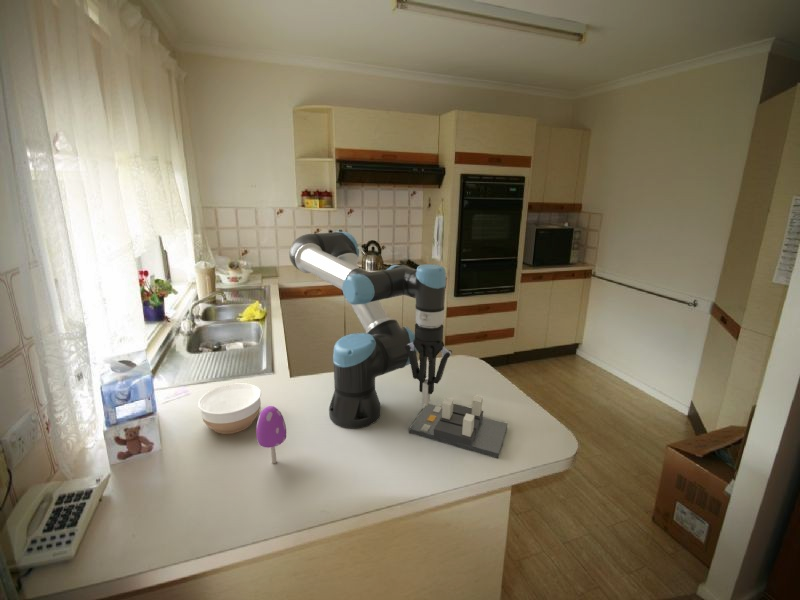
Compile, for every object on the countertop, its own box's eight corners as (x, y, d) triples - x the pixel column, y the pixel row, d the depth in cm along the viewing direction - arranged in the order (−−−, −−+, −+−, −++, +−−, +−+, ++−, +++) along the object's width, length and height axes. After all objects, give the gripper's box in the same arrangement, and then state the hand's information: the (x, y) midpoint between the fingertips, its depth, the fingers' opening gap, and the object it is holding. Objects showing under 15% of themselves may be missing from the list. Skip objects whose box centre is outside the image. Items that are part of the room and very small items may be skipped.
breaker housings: (433, 435, 103) (434, 413, 101) (449, 408, 115) (450, 388, 113) (470, 446, 99) (472, 423, 97) (482, 417, 111) (484, 396, 109)
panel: (409, 433, 106) (409, 427, 105) (426, 407, 118) (427, 402, 118) (498, 458, 97) (498, 452, 96) (507, 428, 109) (507, 422, 108)
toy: (272, 475, 90) (267, 419, 85) (253, 464, 93) (247, 409, 89) (294, 459, 95) (290, 405, 91) (275, 449, 98) (271, 396, 94)
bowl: (238, 401, 120) (235, 377, 117) (275, 416, 112) (273, 392, 110) (189, 427, 106) (184, 402, 104) (227, 447, 99) (223, 420, 96)
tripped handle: (441, 417, 107) (442, 403, 105) (445, 412, 109) (445, 397, 108) (449, 419, 106) (450, 405, 105) (452, 413, 109) (453, 399, 107)
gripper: (400, 324, 102) (399, 403, 108) (448, 332, 97) (444, 415, 103) (411, 315, 108) (409, 391, 115) (457, 323, 103) (452, 401, 110)
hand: (426, 402), depth 109 cm, fingers closed
